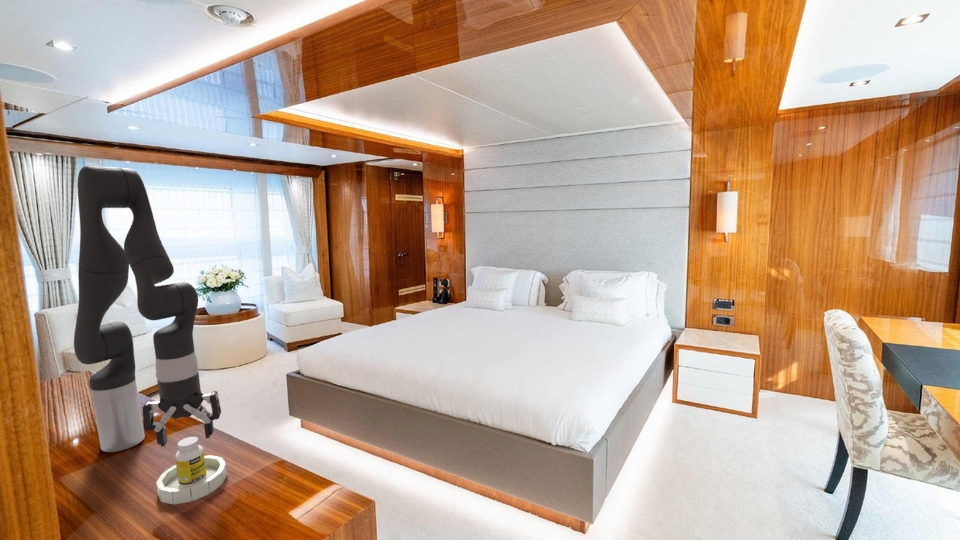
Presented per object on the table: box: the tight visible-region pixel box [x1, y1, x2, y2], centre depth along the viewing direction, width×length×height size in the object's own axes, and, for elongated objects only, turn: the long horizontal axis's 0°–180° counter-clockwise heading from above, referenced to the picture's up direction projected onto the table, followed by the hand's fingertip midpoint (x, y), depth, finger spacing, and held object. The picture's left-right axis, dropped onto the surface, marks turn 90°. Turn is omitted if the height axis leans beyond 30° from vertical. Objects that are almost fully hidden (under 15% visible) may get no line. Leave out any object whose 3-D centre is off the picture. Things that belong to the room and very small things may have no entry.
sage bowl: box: [155, 455, 228, 505], centre depth 100 cm, size 13×13×3 cm
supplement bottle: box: [174, 436, 206, 487], centre depth 100 cm, size 5×5×10 cm
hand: (186, 440), depth 99 cm, fingers open, 8 cm apart
